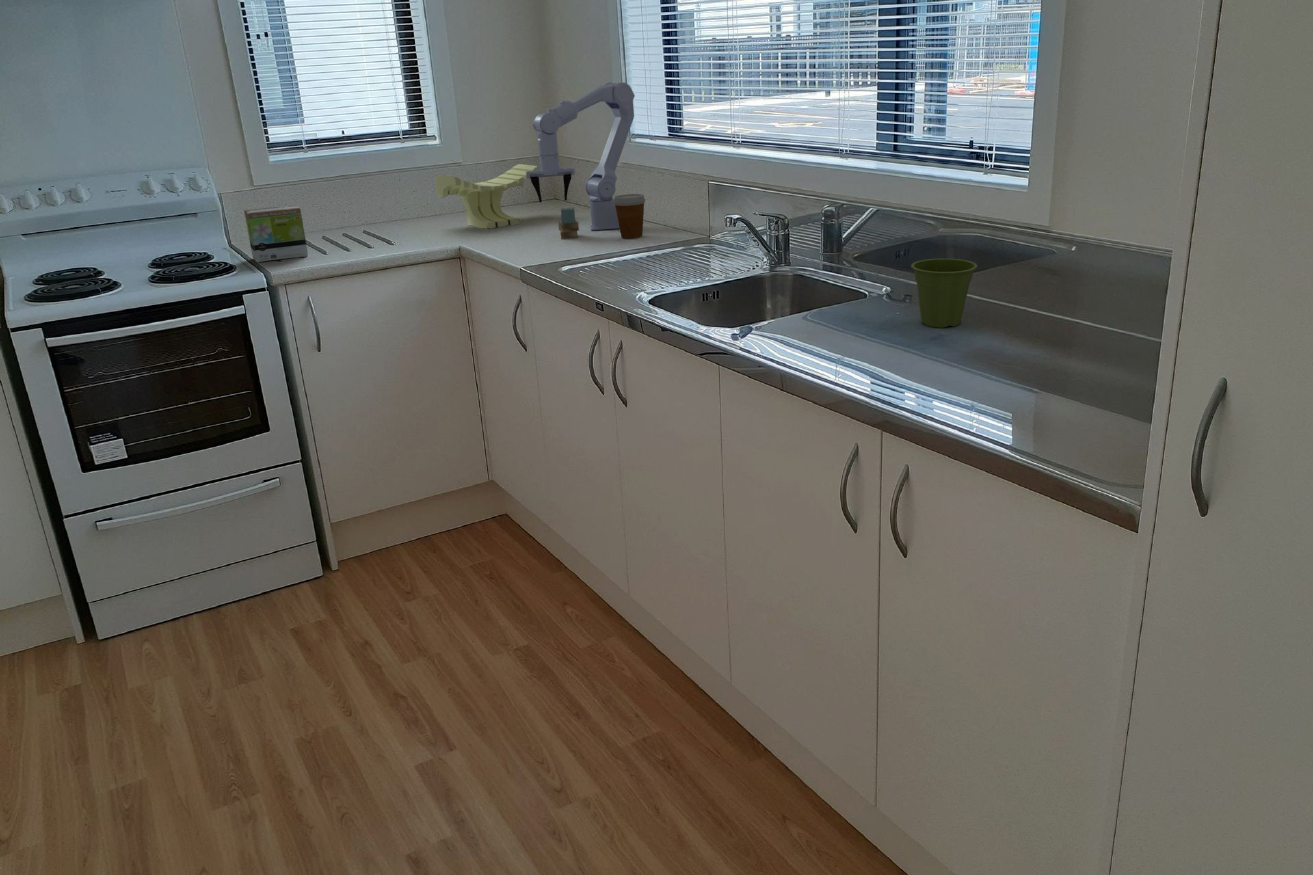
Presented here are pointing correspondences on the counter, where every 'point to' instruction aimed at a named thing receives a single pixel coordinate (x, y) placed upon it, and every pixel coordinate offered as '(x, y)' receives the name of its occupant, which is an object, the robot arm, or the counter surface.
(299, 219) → the tea box
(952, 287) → the plant pot
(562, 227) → the top slab
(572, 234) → the bottom slab
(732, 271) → the counter surface
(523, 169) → the slatted curved stool
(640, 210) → the disposable coffee cup
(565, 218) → the cube
